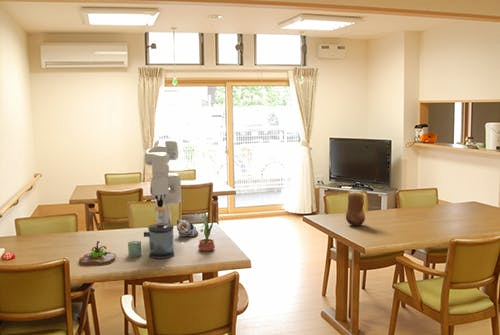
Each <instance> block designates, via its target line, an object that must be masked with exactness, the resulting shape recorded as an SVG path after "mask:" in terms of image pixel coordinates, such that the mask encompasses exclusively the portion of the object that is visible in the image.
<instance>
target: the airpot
mask: <svg viewBox="0 0 500 335" xmlns="http://www.w3.org/2000/svg"><path fill="white" fill-rule="evenodd" d="M147 230H148V231H143V237H144V238H146V237H148V244H149V245H148V246H149V253H148V256H149V258H151V259H152V260H153V259H155V260H164V259H165V260H166V258H167V259H170V257H171V258H173V257H174V256H175V251H174V249H175V246H174V236H173V234H174V224H172V223H171V224H168V223H159V224H157V223H154V224H150V225H148V226H147Z"/></svg>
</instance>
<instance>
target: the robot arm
mask: <svg viewBox="0 0 500 335" xmlns="http://www.w3.org/2000/svg"><path fill="white" fill-rule="evenodd" d="M178 148H179V146H178V143H177V141H176V140H174V139H159V140H157V141H155V143H154V144H153V147H151V148H148V149H146V151H145V153H144V164H145V165H147V166H151V168H152V177H151V178H150V186H149V194H150V197H151V198H153V199H154V200H155V206H158V207H163V205H164V206H166V210H164V211H163V218H162V219H159V218H158V211H155V212H156V224H159V223H168V224H172V210H171V208H170V206H169V205H178V204H180V203H181V201H182V184H181V183H182V181H181V176H180V174H178V173H170V166H169V163H170V161H176V160H178V158H179V149H178ZM174 236H175V234H174V233H173V237H174Z"/></svg>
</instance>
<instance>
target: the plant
mask: <svg viewBox="0 0 500 335" xmlns="http://www.w3.org/2000/svg"><path fill="white" fill-rule="evenodd" d="M99 244H100V241H99V240H97V241H96V245H95V246H93V247H92V248H91V250H90V251H89V252H88V253H86V254H84V255H82V257H79V259H78V263H79V264H80V266H106V265H111V264H112V263H114V262H115V261H116V257H117V256H116V252H112V251H107V246H104V245H102V246H100V247H99Z"/></svg>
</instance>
